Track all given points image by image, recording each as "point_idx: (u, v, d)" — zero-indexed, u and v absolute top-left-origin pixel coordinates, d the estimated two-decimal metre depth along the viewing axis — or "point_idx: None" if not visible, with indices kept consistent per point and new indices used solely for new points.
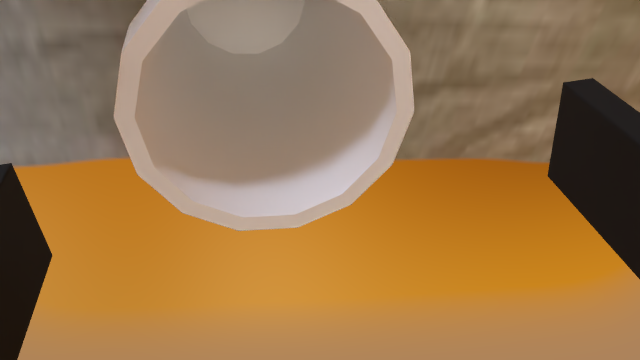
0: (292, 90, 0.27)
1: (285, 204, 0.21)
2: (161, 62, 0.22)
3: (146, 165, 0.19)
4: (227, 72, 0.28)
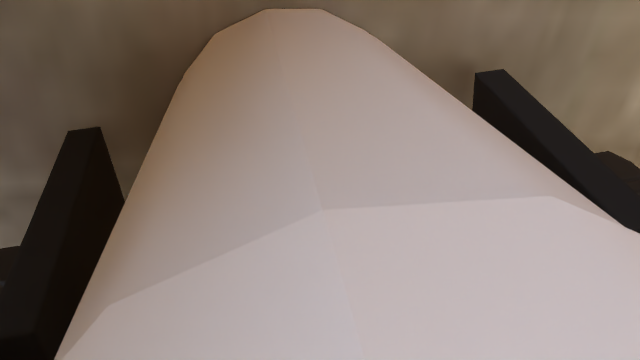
0: None
1: None
2: None
3: None
4: None
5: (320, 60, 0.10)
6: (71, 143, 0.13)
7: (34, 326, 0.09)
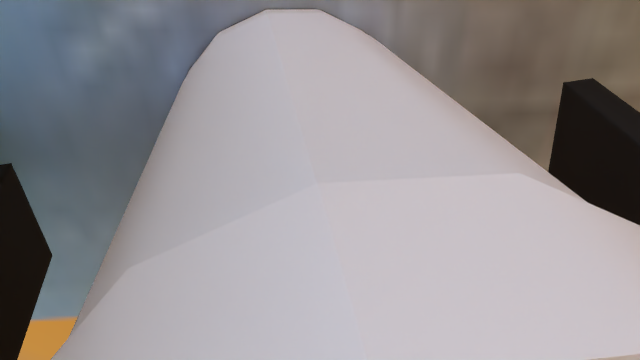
0: None
1: None
2: None
3: None
4: None
5: (316, 57, 0.11)
6: None
7: None
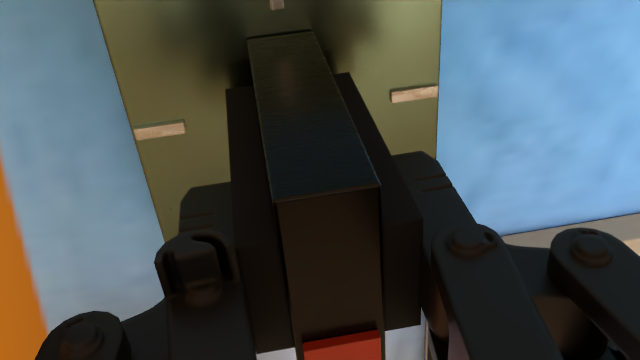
0: None
1: None
2: None
3: None
4: None
5: None
6: (234, 99, 0.15)
7: (277, 238, 0.10)
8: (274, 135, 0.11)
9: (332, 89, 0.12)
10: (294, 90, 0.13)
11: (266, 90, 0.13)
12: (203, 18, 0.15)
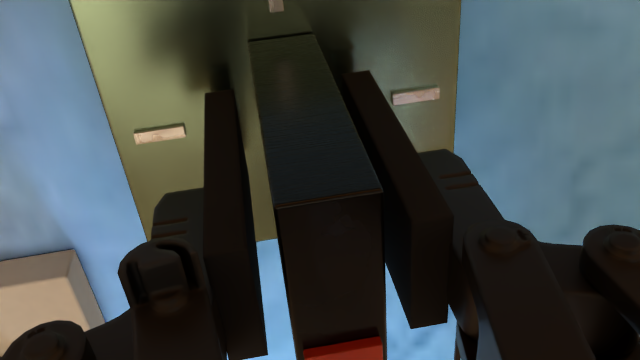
0: None
1: None
2: None
3: None
4: None
5: None
6: (213, 103, 0.15)
7: (246, 245, 0.10)
8: (275, 139, 0.11)
9: (333, 93, 0.12)
10: (294, 93, 0.13)
11: (267, 93, 0.13)
12: (389, 35, 0.16)
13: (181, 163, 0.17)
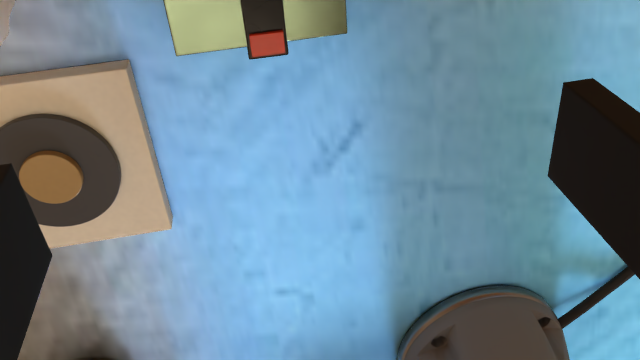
0: None
1: None
2: None
3: None
4: None
5: None
6: None
7: None
8: None
9: None
10: None
11: None
12: None
13: None
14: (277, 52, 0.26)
